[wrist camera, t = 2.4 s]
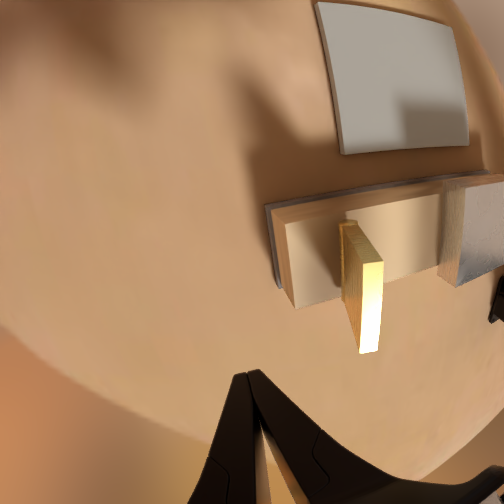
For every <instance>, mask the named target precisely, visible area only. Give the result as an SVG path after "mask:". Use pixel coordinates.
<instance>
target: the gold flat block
mask: <svg viewBox="0 0 504 504" xmlns="http://www.w3.org/2000/svg"><path fill="white" fill-rule="evenodd" d="M338 227H339V244H340V266H341V300H342V301H343V302H344V303H345V306H346V310H347V313H348V316H349V319H350V323H351V326H352V329H353V332H354V336H355V339H356V343H357V346H358V349H359V353H366V352H372V351H377V345H378V337H379V327H380V316H381V304H382V288H383V267H384V261H383V259H382V258H381V256H380V255H379V253H378V252H377V251H376V249H375V248H374V246H373V245H372V243H371V242H370V241H369V239H368V238H367V236H366V235H365V234H364V232H363V231H362V229H361V228H360V227H359V225H358V221H356V220H353V219H346V220H341V221H339V222H338Z"/></svg>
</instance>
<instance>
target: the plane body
mask: <svg viewBox="0 0 504 504" xmlns="http://www.w3.org/2000/svg"><path fill="white" fill-rule="evenodd" d="M483 175H491V174H490V171H488V170H479V171H470V172H462V173H454V174H446V175H438V176H431V177H423V178H416V179H409V180H403V181H396V182H389V183H383V184H377V185H370V186H364V187H358V188H352V189H346V190H341V191H335V192H329V193H324V194H318V195H313V196H307V197H302V198H297V199H291V200H286V201H281V202H276V203H271V204H266V205H265V212H266V218H267V224H268V231H269V237H270V244H271V251H272V257H273V264H274V271H275V277H276V284H277V286H278V288H279V289H281V288H283V289H284V291H285V292H286V294H287V296H288V298H289V299H290V301H291V303H292V305H293V306H294V308H295V310H296V309H300V308H303V307H307V306H311V305H314V304H318V303H321V302H325V301H328V300H332V299H335V298H339V297H341V266H340V244H339V227H338V222H339V221H341V220H346V219H353V220H356V221H358V225H359V227H360V228H361V229H362V231H363V232H364V234H365V235H366V236H367V238H368V239H369V241H370V242H371V243H372V245H373V246H374V248H375V249H376V251H377V252H378V253H379V255H380V256H381V258H382V259H383V261H384V267H383V284H384V283H387V282H390V281H393V280H396V279H399V278H402V277H405V276H408V275H411V274H414V273H417V272H420V271H423V270H426V269H428V268H431V267H434V266H437V265H438V262H439V253H440V242H441V229H442V210H443V181H447V180H454V179H461V178H468V177H476V176H483Z"/></svg>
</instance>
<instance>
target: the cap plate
mask: <svg viewBox="0 0 504 504" xmlns="http://www.w3.org/2000/svg"><path fill="white" fill-rule="evenodd" d="M503 264H504V175H503V174H491V175H483V176H476V177H468V178H461V179H454V180H447V181H443V210H442V229H441V242H440V253H439V262H438V271H437V275H438V276H440V277H441V278H442V279H444V280H445V281H447V282H448V283H449V284H451V285H452V286H454V287H455V288H456V287H458V286H460V285H462V284H464V283H467V282H469V281H471V280H473V279H475V278H477V277H479V276H481V275H483V274H485V273H488V272H490V271H492V270H494V269H496V268H498V267H499V266H501V265H503Z"/></svg>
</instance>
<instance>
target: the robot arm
mask: <svg viewBox="0 0 504 504" xmlns="http://www.w3.org/2000/svg"><path fill="white" fill-rule="evenodd" d="M498 319H500V320H502V321H503V322H504V276H502V277H501V279H500V281H499V285H498V290H497V294H496V297H495V301H494V305H493V308H492V312H491V315H490V319H489V322H490V323H491V324H492V323H494V322H495V321H497V320H498ZM259 420H260V421H259ZM261 427H262V429H261ZM262 430H263V433H264V436H265V438H266V440H267V443H268V445H269V447H270V449H271V452H272V454H273V456H274V458H275V461H276V463H277V465H278V467H279V469H280V471H281V473H282V476H283V478H284V480H285V482H286V484H287V486H288V488H289V491H290V493H291V495H292V497H293V499H294V501H295V503H296V504H504V493H503V494H502V495H500V496H498V494H497V493H496V490H497V489H498V488H499V487H500V486H502V485H503V484H504V467H502V466H497V465H491V466H489V467H488V468H486V469H485V470H484V471H482V472H481V473H480V474H478V475H477V476H476V477H474V478H473V479H471V480H470V481H468V482H465V483H462V484H456V485H448V484H436V483H428V482H420V481H412V480H406V479H401V478H397V477H394V476H392V475H390V474H387V473H386V472H384V471H382V470H380V469H378V468H377V467H375V466H373V465H372V464H370V463H368V462H367V461H365V460H363V459H362V458H360V457H358V456H357V455H355V454H354V453H352V452H351V451H349V450H348V449H346V448H345V447H343V446H342V445H341V444H339V443H338V442H337V441H336V440H334V439H333V438H332V437H331V436H330V435H328V434H327V433H326V432H325V431H324V430H323V429H322V430H321V428H320V427H319V426H318V425H317V424H316V423H315V422H314V421H313V420H312V419H311V418H310V417H308V416H307V415H306V414H305V413H304V412H303V411H302V410H301V409H300V408H299V407H298V406H297V405H296V404H295V403H294V402H293V401H291V400H290V399H289V398H288V397H287V396H286V395H285V394H284V393H283V392H282V391H281V390H280V389H279V388H278V387H277V386H276V385H275V384H274V383H273V382H272V381H271V380H270V379H269V378H268V377H267V376H266V375H265V374H264V373H263V372H262V371H261V370H260V369H256V370H251V371H248V372H247V373H246V372H243V373H238V374H235V375H234V376H233V379H232V382H231V385H230V389H229V392H228V395H227V398H226V401H225V404H224V407H223V411H222V414H221V417H220V420H219V423H218V426H217V429H216V432H215V435H214V438H213V441H212V444H211V447H210V451H209V454H208V457H207V459H206V462H205V466H204V468H203V471H202V473H201V476H200V478H199V481H198V483H197V485H196V487H195V489H194V492H193V493H192V495H191V497H190V499H189V501H188V503H187V504H271V496H270V489H269V481H268V473H267V465H266V457H265V449H264V441H263V434H262Z"/></svg>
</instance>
